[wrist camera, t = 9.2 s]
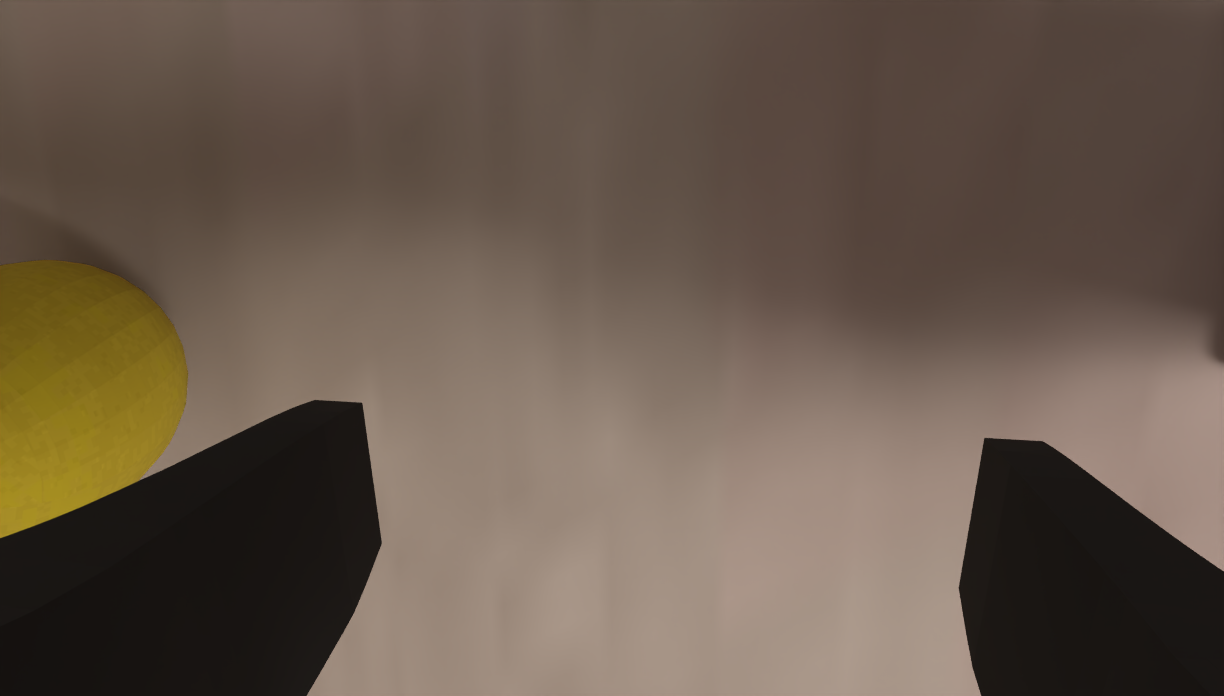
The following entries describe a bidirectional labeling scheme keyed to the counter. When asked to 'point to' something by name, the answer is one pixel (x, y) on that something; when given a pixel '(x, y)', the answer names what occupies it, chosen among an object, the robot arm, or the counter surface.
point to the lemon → (80, 388)
